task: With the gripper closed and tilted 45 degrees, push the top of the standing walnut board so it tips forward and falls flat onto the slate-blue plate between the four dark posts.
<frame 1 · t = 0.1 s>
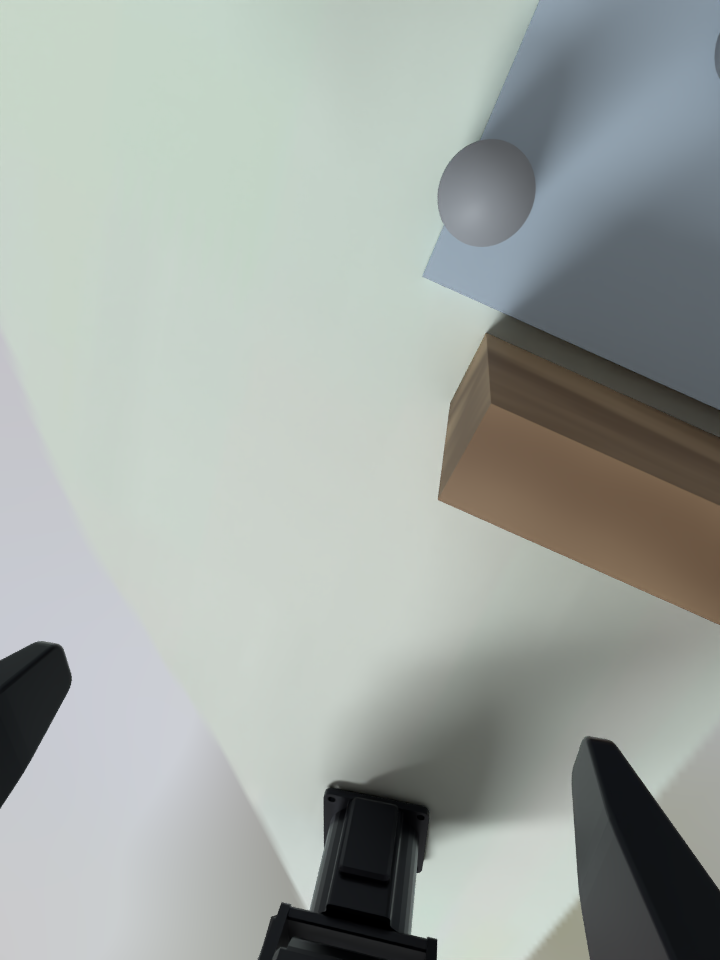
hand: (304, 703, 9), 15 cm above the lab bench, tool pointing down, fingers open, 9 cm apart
shelf board: (656, 453, 21), on the lab bench
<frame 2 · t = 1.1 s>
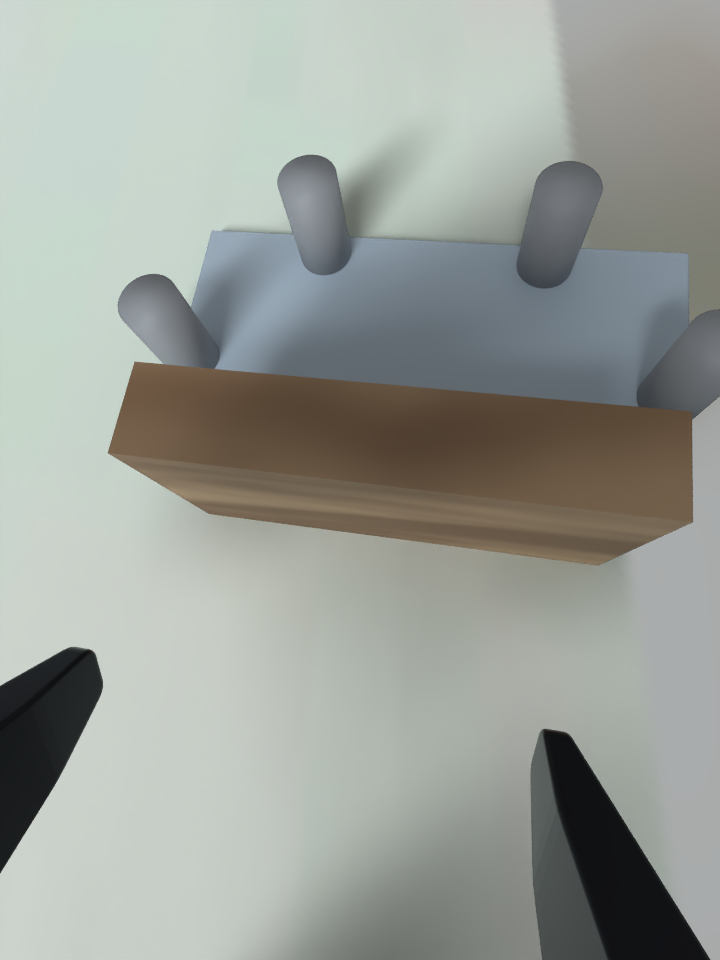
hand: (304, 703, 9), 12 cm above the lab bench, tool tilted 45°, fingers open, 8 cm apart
peg plate: (421, 343, 25), on the lab bench
shelf board: (398, 503, 23), on the lab bench
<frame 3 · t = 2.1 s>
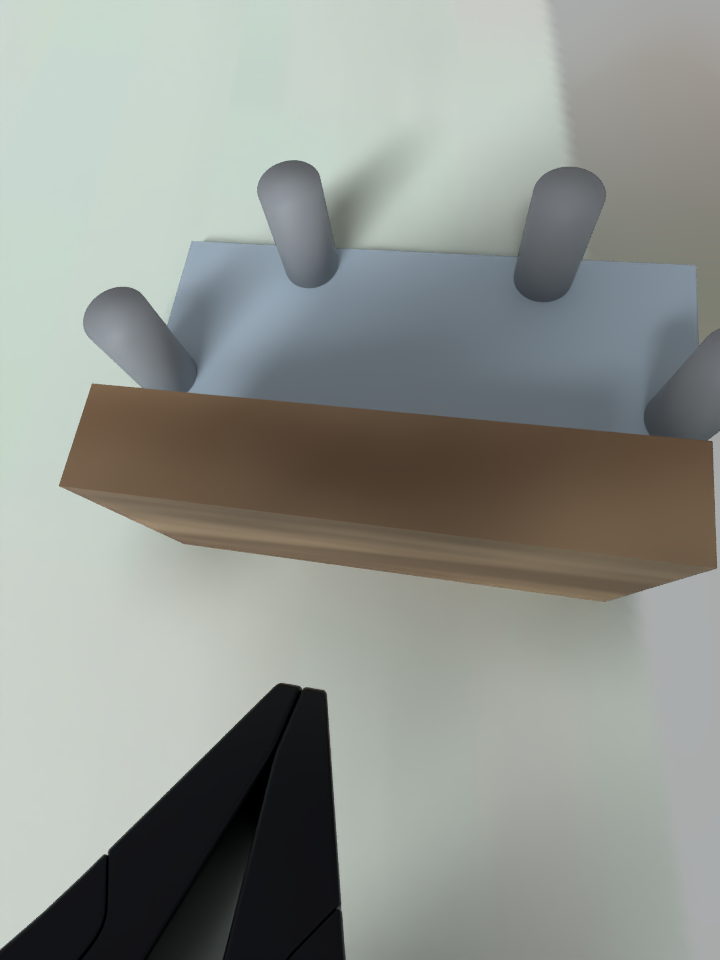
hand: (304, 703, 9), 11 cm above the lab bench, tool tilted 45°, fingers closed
peg plate: (412, 360, 23), on the lab bench
shelf board: (387, 532, 21), on the lab bench
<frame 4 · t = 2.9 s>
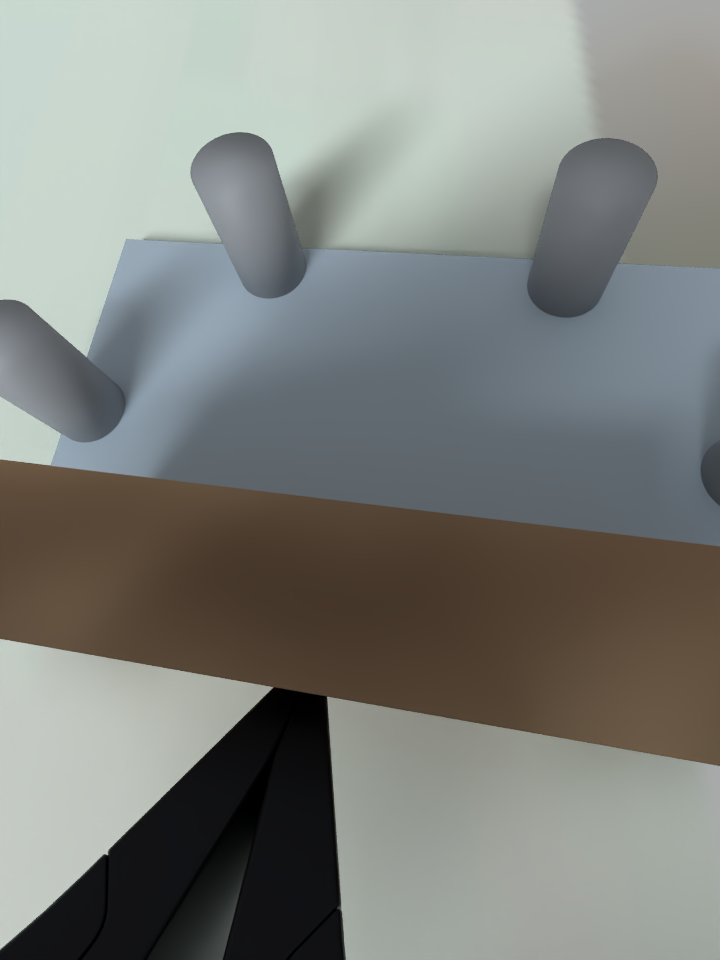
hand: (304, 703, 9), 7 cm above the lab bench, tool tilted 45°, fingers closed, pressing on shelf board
peg plate: (398, 390, 18), on the lab bench
shelf board: (363, 620, 16), on the lab bench, touching gripper
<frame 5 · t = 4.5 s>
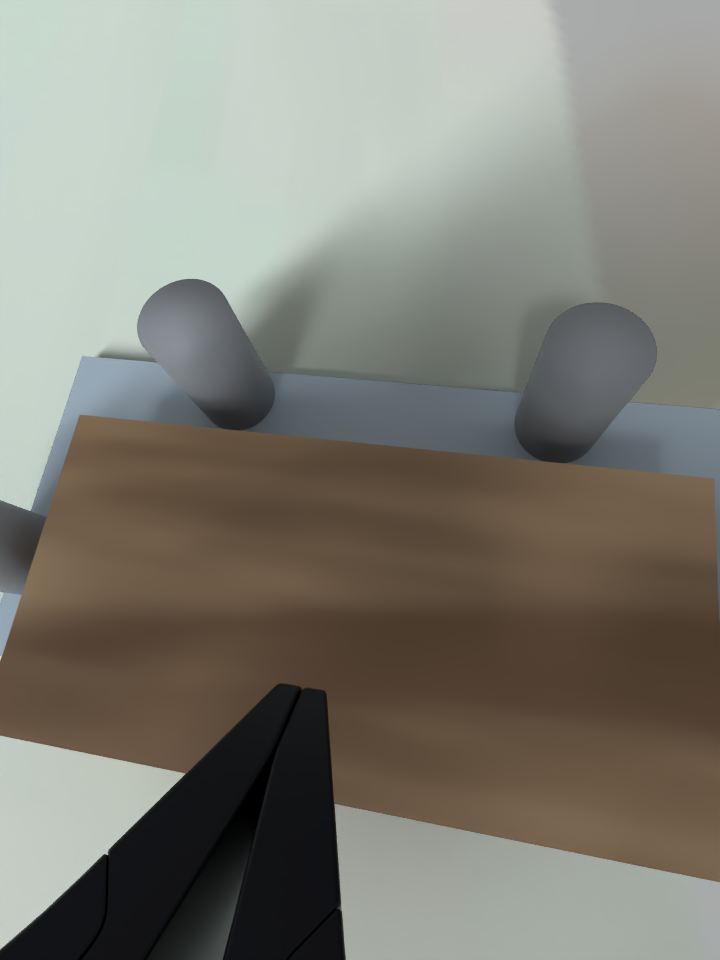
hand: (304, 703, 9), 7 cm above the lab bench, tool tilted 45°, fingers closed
peg plate: (373, 539, 17), on the lab bench
shelf board: (325, 783, 13), point 2 cm above the lab bench, tilted 90°, touching peg plate
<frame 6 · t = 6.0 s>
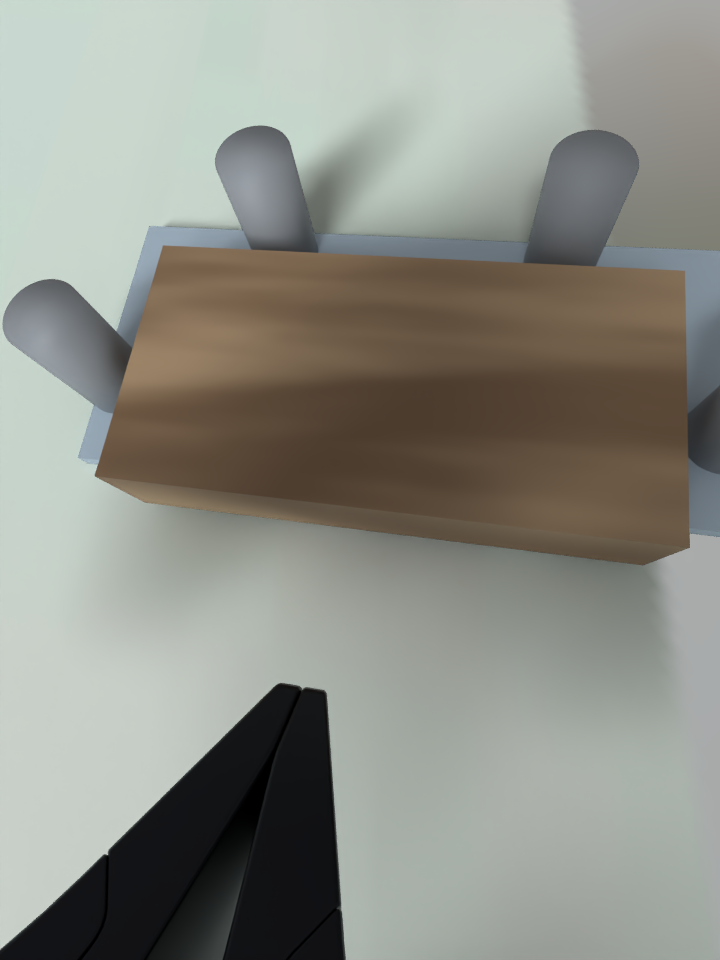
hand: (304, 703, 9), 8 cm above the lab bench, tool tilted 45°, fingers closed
peg plate: (404, 364, 20), on the lab bench
shelf board: (372, 521, 16), point 2 cm above the lab bench, tilted 90°, touching peg plate
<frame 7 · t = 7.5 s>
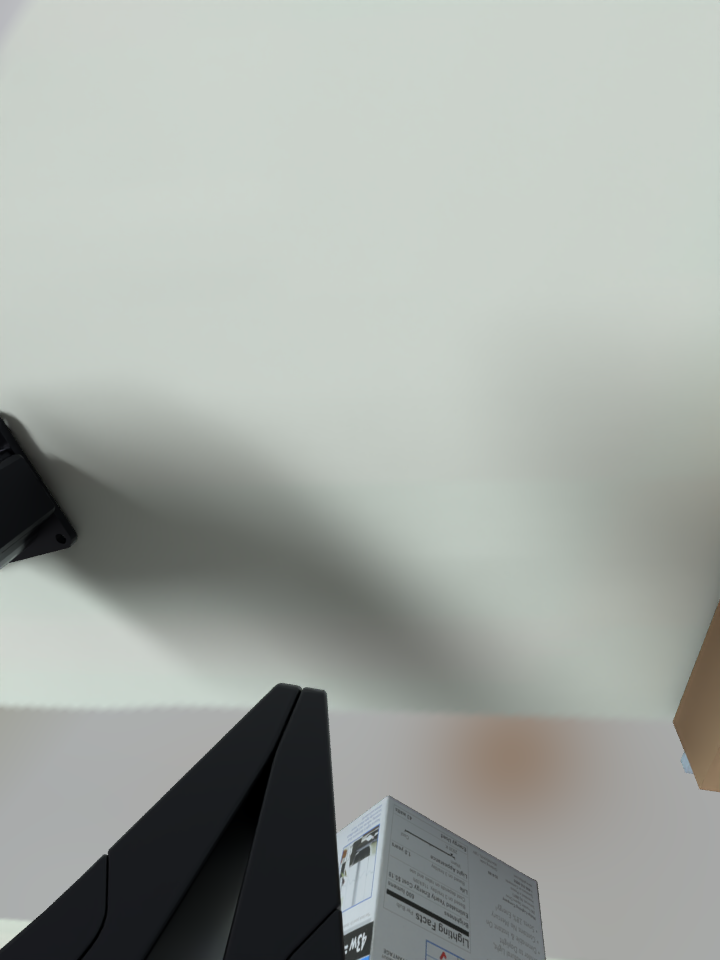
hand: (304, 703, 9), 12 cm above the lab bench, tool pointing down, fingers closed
light bulb box: (430, 854, 32), on the lab bench
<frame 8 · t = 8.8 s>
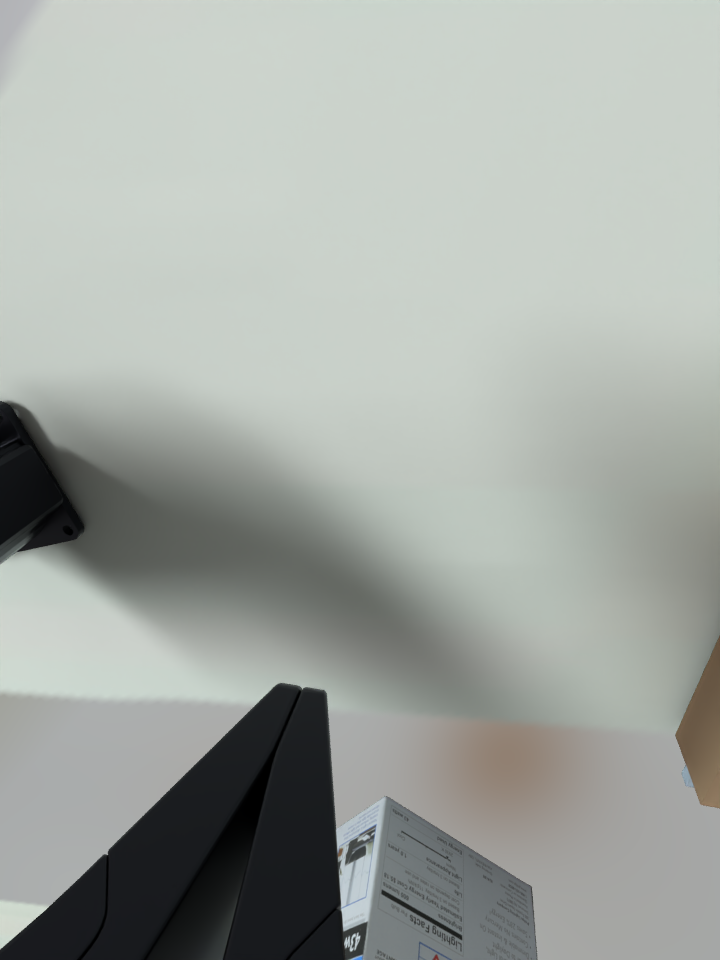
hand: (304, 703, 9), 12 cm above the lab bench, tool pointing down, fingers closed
light bulb box: (425, 855, 32), on the lab bench
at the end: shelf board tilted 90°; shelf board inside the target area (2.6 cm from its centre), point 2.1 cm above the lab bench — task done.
